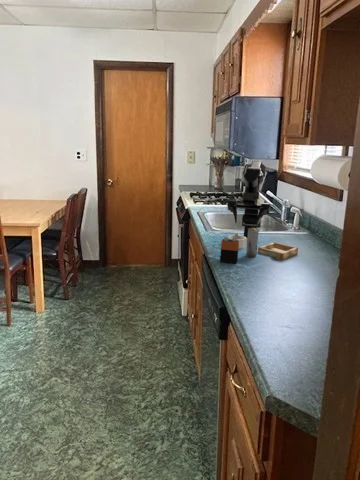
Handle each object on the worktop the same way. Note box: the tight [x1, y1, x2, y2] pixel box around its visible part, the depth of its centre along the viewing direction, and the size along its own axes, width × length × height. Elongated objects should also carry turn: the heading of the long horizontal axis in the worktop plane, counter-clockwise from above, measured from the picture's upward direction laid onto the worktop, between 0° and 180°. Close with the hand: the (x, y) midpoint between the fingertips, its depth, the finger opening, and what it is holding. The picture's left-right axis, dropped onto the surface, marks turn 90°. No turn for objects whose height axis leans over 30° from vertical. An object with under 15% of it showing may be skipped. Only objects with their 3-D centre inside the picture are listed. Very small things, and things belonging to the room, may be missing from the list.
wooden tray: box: [257, 242, 299, 261], centre depth 181 cm, size 14×12×3 cm
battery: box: [219, 237, 239, 265], centre depth 166 cm, size 4×7×10 cm, turn 77°
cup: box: [227, 234, 247, 250], centre depth 188 cm, size 8×8×5 cm
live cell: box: [245, 228, 260, 258], centre depth 173 cm, size 4×4×13 cm
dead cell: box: [234, 232, 242, 239], centre depth 188 cm, size 3×3×6 cm
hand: (246, 224), depth 179 cm, fingers open, 9 cm apart
